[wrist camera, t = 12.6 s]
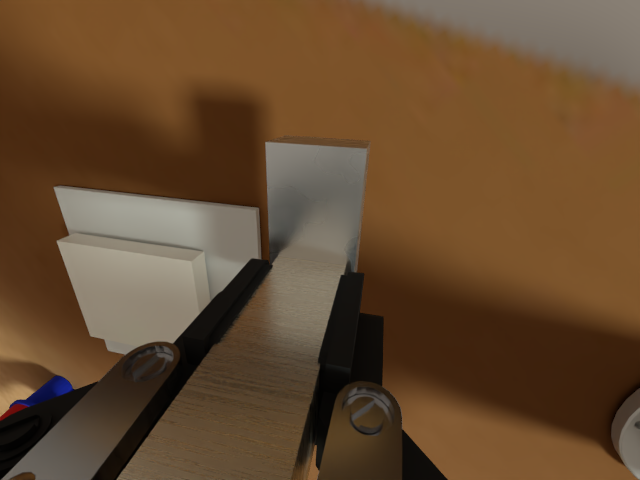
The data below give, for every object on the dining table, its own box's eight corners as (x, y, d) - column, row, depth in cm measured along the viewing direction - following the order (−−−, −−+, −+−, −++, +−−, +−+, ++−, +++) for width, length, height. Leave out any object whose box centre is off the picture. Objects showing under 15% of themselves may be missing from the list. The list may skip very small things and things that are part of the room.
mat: (258, 207, 20) (255, 210, 19) (266, 381, 26) (264, 385, 26) (60, 185, 23) (53, 187, 22) (112, 346, 29) (107, 350, 29)
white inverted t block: (370, 140, 10) (285, 325, 2) (347, 358, 14) (290, 721, 6) (285, 135, 11) (-102, 257, 2) (287, 347, 15) (156, 667, 6)
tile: (191, 261, 20) (56, 240, 22) (207, 361, 24) (90, 336, 26) (205, 250, 22) (78, 232, 23) (218, 346, 25) (107, 323, 27)
